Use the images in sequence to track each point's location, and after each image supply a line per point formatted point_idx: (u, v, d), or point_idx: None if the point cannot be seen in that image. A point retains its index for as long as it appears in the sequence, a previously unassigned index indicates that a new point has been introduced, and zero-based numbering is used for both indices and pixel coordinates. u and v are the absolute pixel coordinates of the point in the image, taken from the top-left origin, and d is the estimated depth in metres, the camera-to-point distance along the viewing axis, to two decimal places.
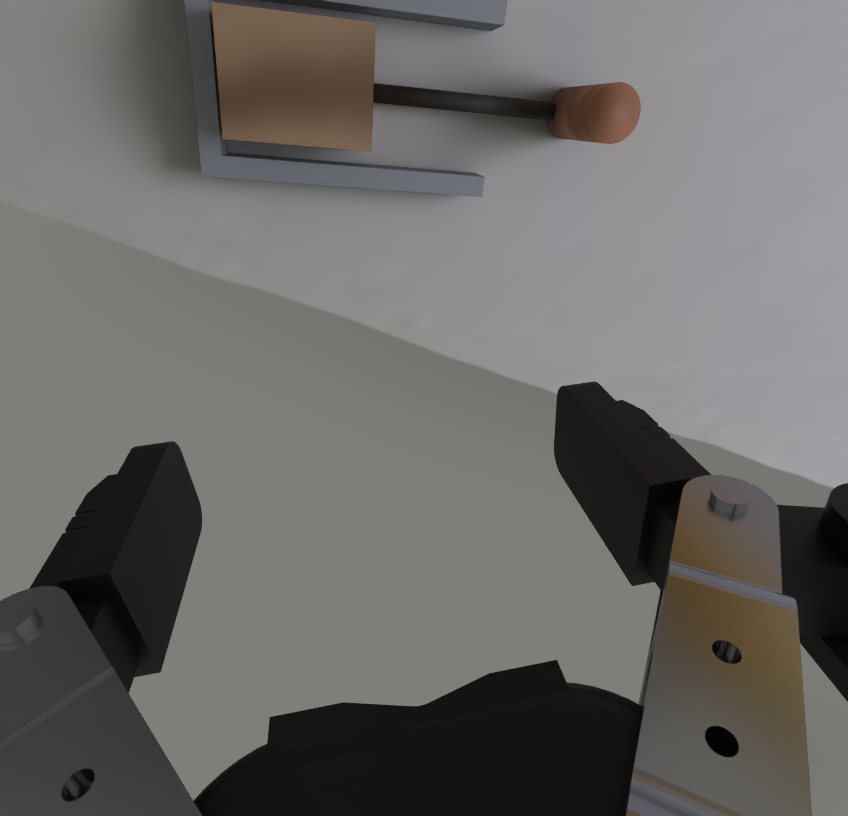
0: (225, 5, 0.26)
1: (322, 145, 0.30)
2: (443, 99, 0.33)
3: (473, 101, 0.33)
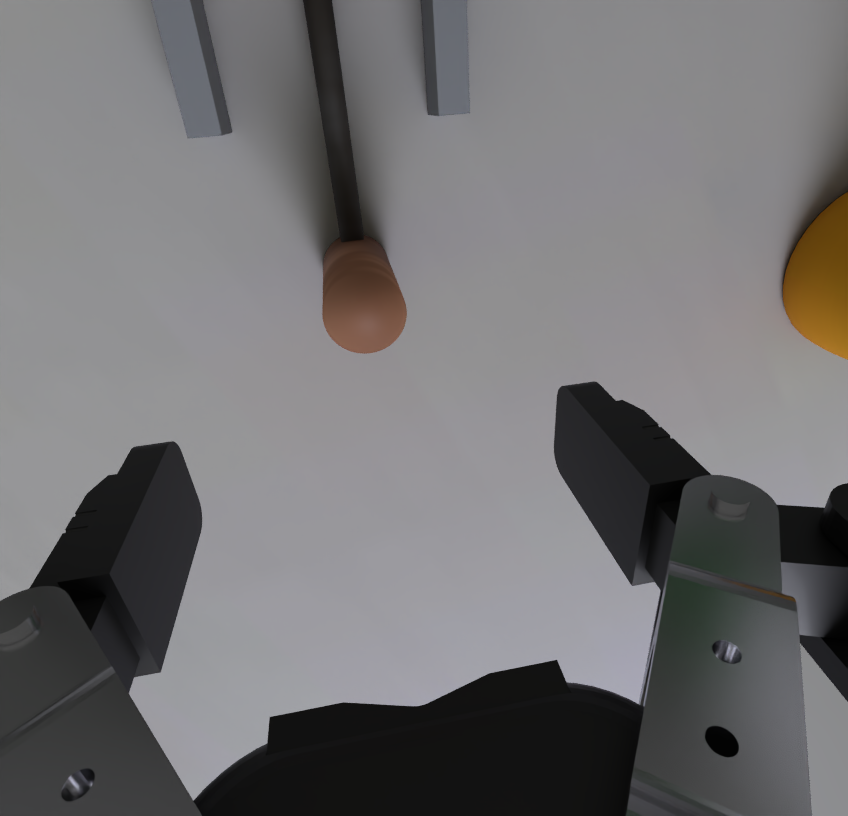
0: None
1: None
2: (322, 34, 0.19)
3: (333, 94, 0.20)
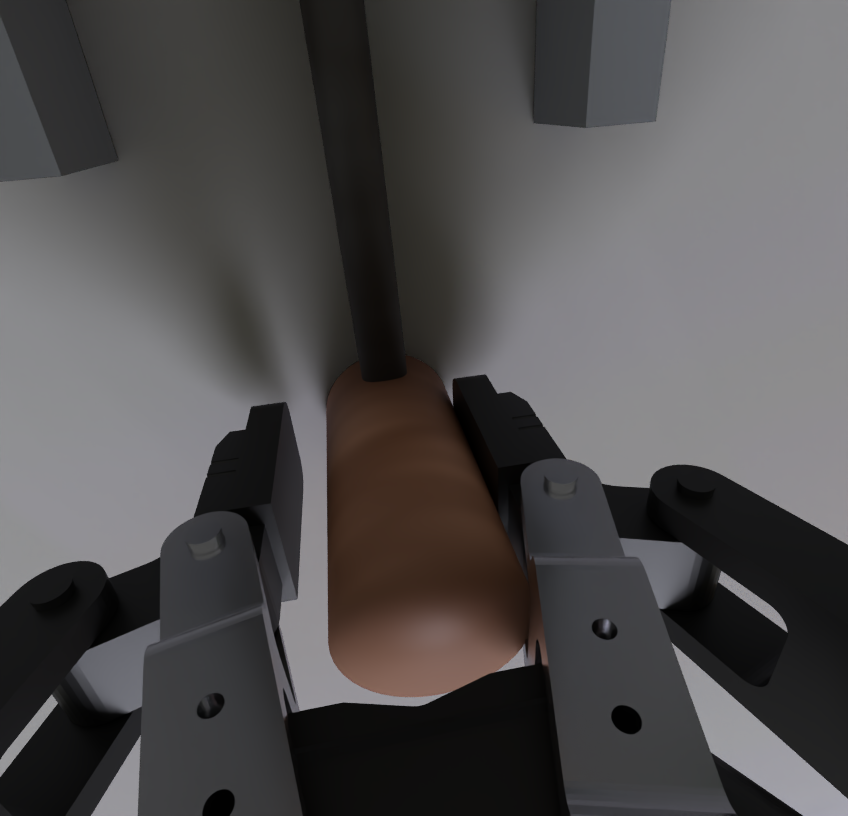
0: None
1: None
2: None
3: (349, 83, 0.09)
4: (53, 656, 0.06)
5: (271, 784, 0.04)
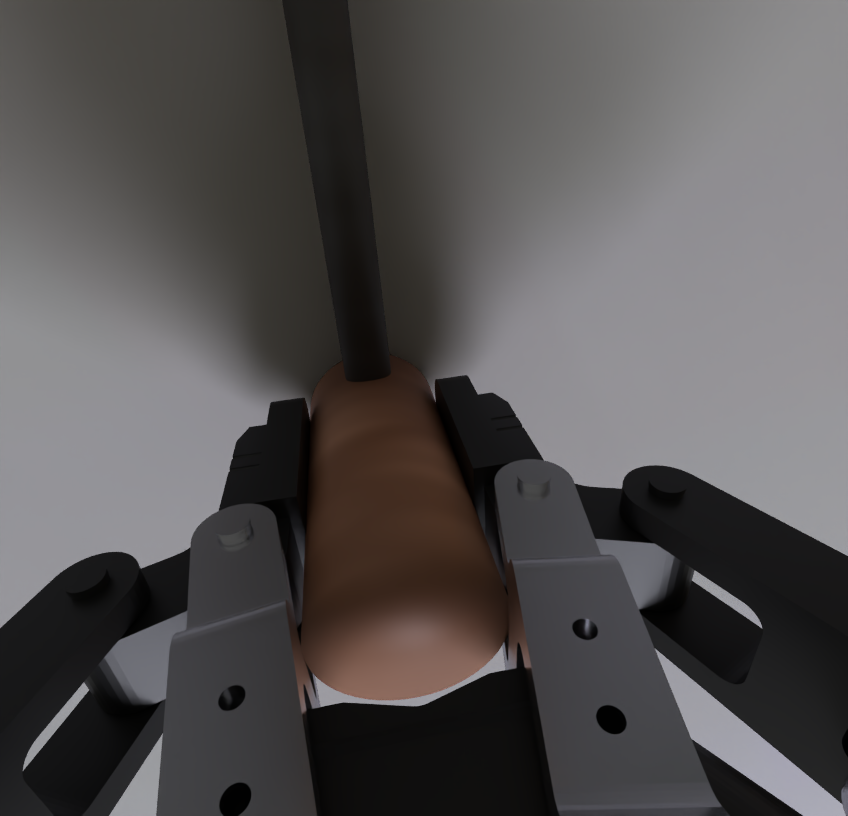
0: None
1: None
2: None
3: (331, 80, 0.09)
4: (86, 646, 0.06)
5: (287, 781, 0.04)
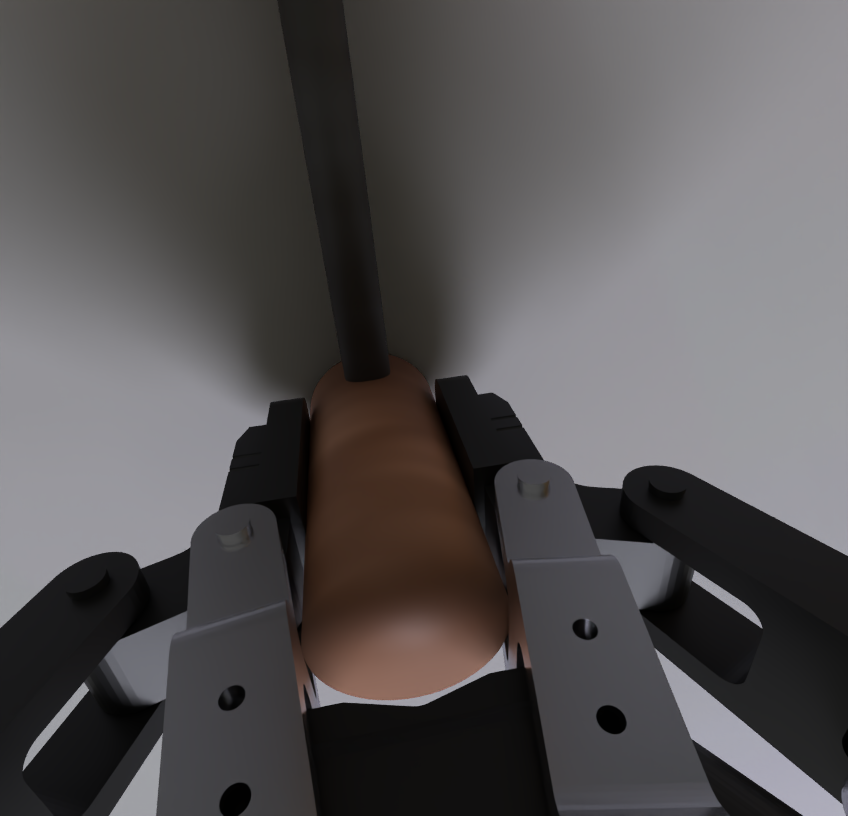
0: None
1: None
2: None
3: (327, 80, 0.09)
4: (86, 646, 0.06)
5: (287, 780, 0.04)
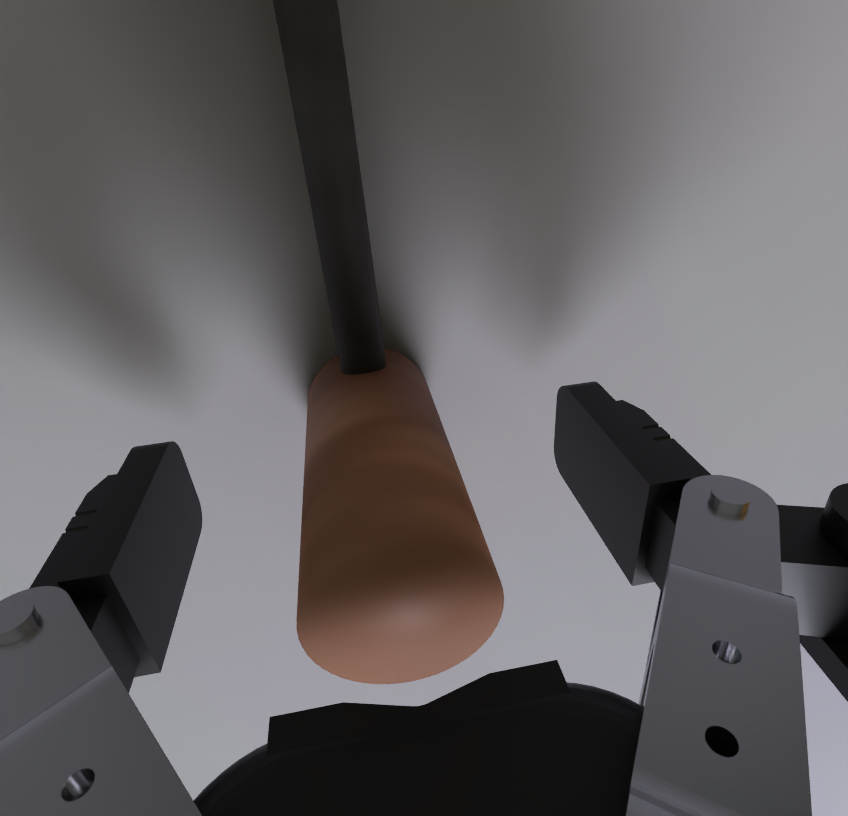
0: None
1: None
2: None
3: (322, 75, 0.09)
4: None
5: None
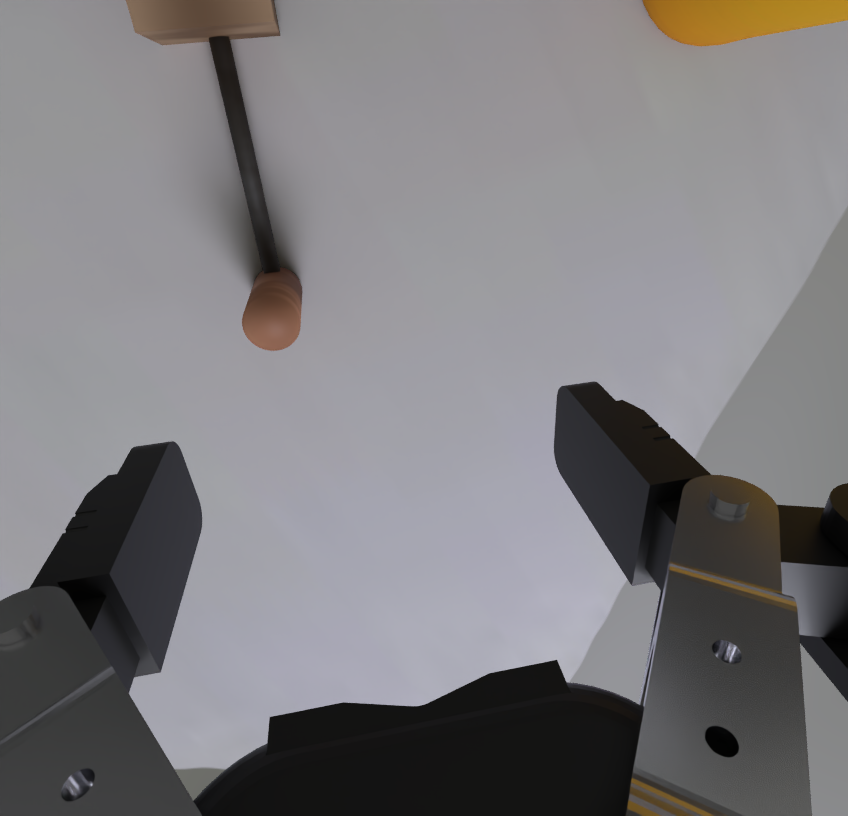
0: None
1: None
2: (240, 138, 0.29)
3: (250, 176, 0.30)
4: None
5: None
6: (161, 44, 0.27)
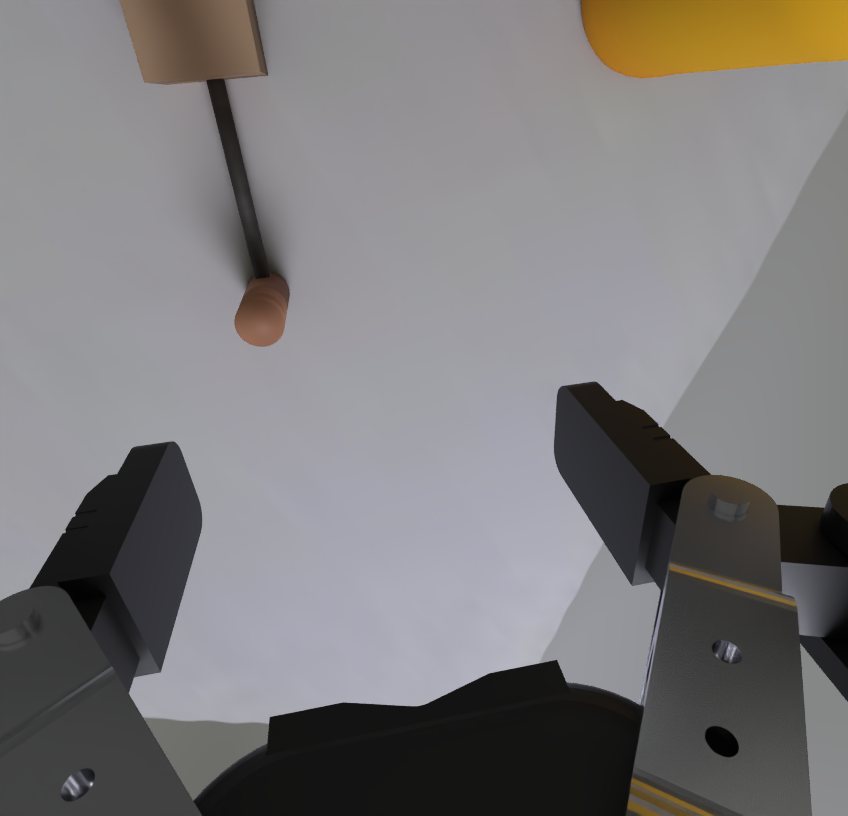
0: None
1: (127, 18, 0.27)
2: (234, 163, 0.34)
3: (243, 195, 0.34)
4: None
5: None
6: (166, 84, 0.32)
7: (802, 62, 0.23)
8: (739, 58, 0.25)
